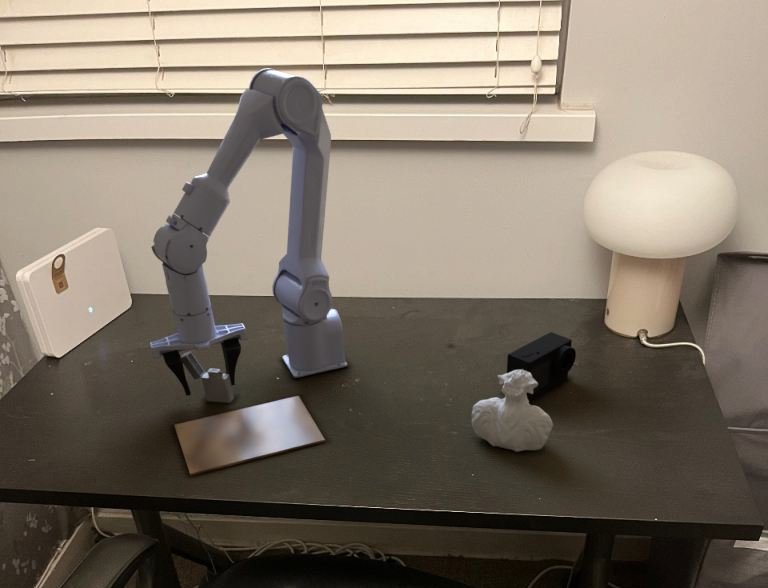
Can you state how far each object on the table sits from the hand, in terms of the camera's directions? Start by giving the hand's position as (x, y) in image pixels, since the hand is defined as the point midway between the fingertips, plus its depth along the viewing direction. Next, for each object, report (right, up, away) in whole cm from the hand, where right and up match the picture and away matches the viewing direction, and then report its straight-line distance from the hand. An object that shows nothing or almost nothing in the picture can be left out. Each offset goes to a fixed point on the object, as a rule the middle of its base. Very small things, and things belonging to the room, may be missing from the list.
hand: (209, 387), depth 123 cm
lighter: (0, -2, +1) cm, 2 cm away
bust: (+47, -10, -12) cm, 49 cm away
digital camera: (+53, 0, -1) cm, 53 cm away
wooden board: (+8, -8, -8) cm, 13 cm away
